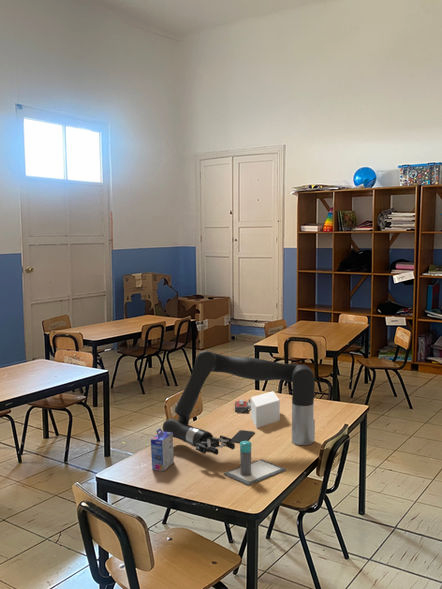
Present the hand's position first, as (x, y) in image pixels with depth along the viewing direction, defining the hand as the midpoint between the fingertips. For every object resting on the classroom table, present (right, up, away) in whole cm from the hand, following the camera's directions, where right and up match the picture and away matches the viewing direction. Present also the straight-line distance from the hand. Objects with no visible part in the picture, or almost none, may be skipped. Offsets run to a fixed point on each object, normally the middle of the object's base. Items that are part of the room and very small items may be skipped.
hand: (226, 449), depth 223 cm
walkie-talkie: (+10, 0, +79) cm, 79 cm away
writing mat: (+11, -8, -4) cm, 14 cm away
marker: (+7, -7, -7) cm, 13 cm away
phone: (+8, -4, +34) cm, 35 cm away
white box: (+20, -1, +60) cm, 63 cm away
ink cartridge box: (-25, -7, +3) cm, 26 cm away
